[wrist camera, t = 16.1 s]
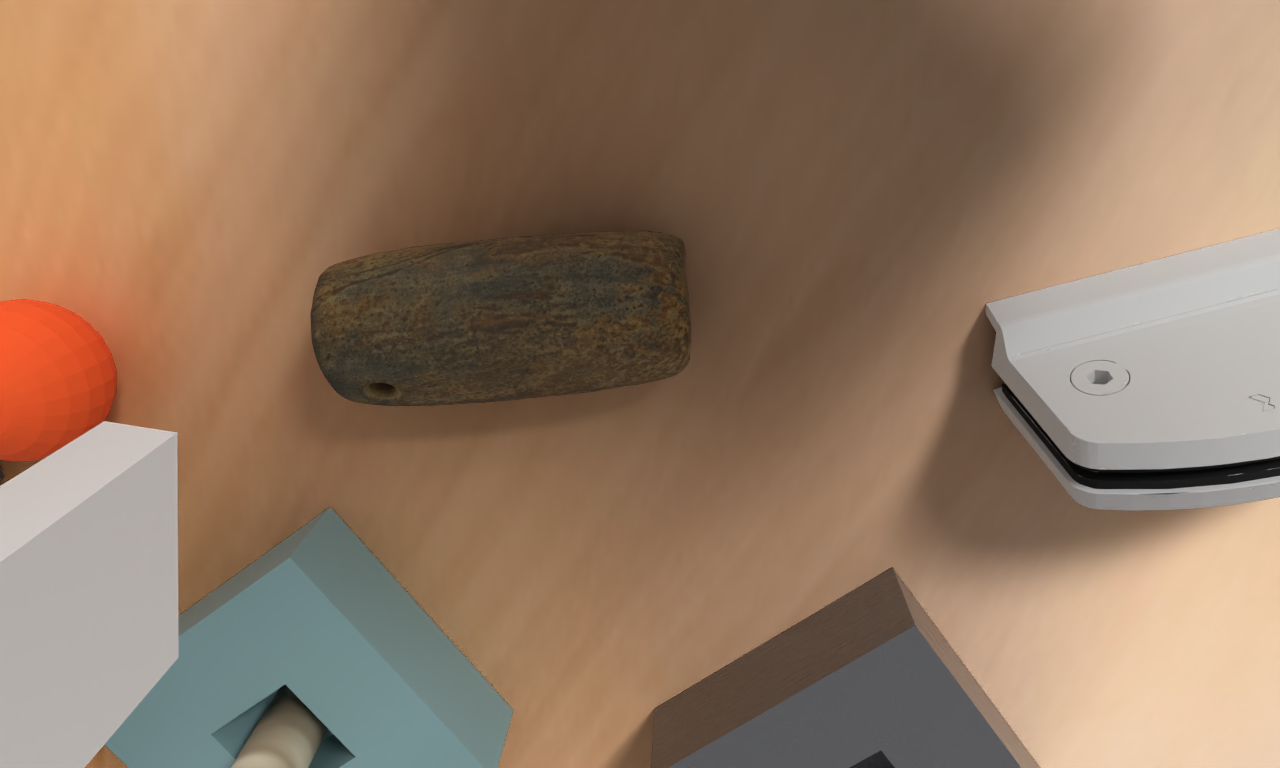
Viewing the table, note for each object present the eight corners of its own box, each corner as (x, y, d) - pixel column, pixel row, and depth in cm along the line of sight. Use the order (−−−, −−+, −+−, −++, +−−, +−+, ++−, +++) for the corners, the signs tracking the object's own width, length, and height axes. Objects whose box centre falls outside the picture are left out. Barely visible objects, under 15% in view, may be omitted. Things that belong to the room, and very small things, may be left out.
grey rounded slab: (1387, 200, 40) (1586, 340, 32) (1368, 294, 43) (1546, 444, 35) (976, 305, 42) (1067, 461, 34) (983, 388, 45) (1069, 549, 37)
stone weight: (379, 397, 45) (328, 453, 39) (340, 248, 43) (280, 282, 37) (702, 351, 44) (704, 402, 37) (678, 195, 42) (677, 220, 35)
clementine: (-29, 397, 46) (-152, 456, 39) (-19, 257, 44) (-148, 294, 37) (138, 444, 46) (45, 510, 40) (156, 308, 44) (60, 353, 37)
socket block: (129, 650, 50) (71, 712, 45) (330, 506, 47) (289, 557, 42) (314, 833, 53) (277, 909, 48) (513, 710, 50) (494, 778, 45)
